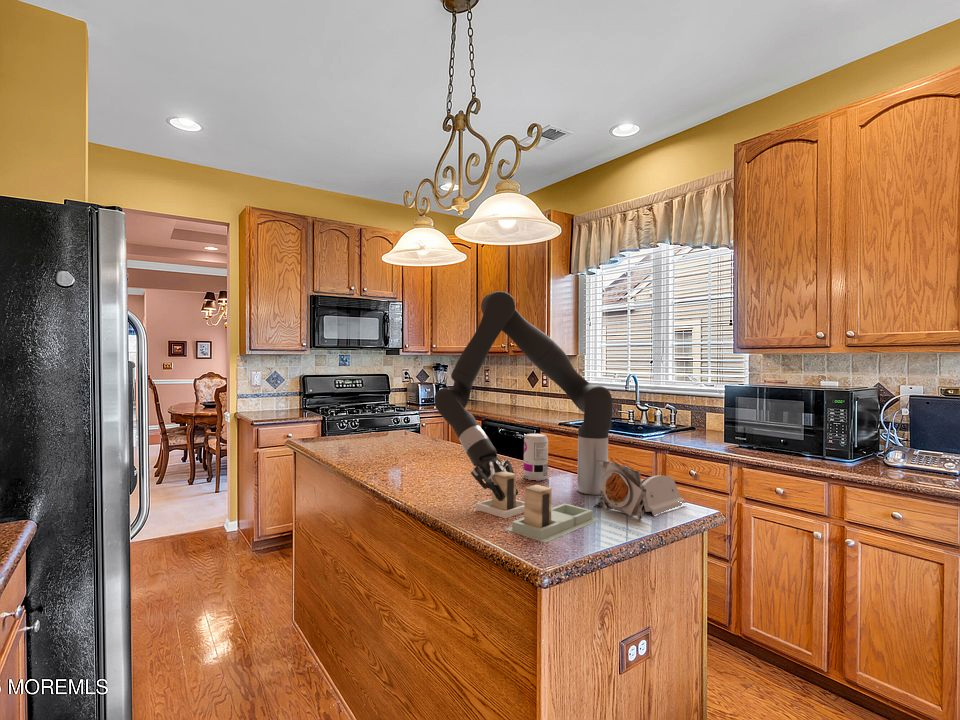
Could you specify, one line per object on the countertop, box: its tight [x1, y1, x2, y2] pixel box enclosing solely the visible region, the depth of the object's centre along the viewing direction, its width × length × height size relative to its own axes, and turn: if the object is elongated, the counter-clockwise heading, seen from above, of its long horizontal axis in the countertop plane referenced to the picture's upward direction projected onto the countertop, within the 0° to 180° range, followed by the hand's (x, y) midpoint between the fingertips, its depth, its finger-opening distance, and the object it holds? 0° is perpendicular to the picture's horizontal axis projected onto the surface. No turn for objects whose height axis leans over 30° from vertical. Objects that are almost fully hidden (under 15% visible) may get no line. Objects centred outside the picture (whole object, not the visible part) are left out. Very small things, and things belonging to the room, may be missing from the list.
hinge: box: [640, 474, 686, 516], centre depth 141 cm, size 17×5×10 cm, turn 128°
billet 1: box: [491, 472, 517, 511], centre depth 134 cm, size 4×5×10 cm
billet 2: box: [523, 484, 553, 528], centre depth 118 cm, size 4×5×10 cm
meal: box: [593, 460, 646, 521], centre depth 136 cm, size 15×4×13 cm, turn 35°
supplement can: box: [522, 432, 549, 482], centre depth 173 cm, size 8×8×15 cm
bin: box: [475, 498, 525, 519], centre depth 134 cm, size 11×11×2 cm
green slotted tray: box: [504, 503, 601, 544], centre depth 123 cm, size 23×12×3 cm, turn 136°
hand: (509, 497), depth 133 cm, fingers open, 4 cm apart
